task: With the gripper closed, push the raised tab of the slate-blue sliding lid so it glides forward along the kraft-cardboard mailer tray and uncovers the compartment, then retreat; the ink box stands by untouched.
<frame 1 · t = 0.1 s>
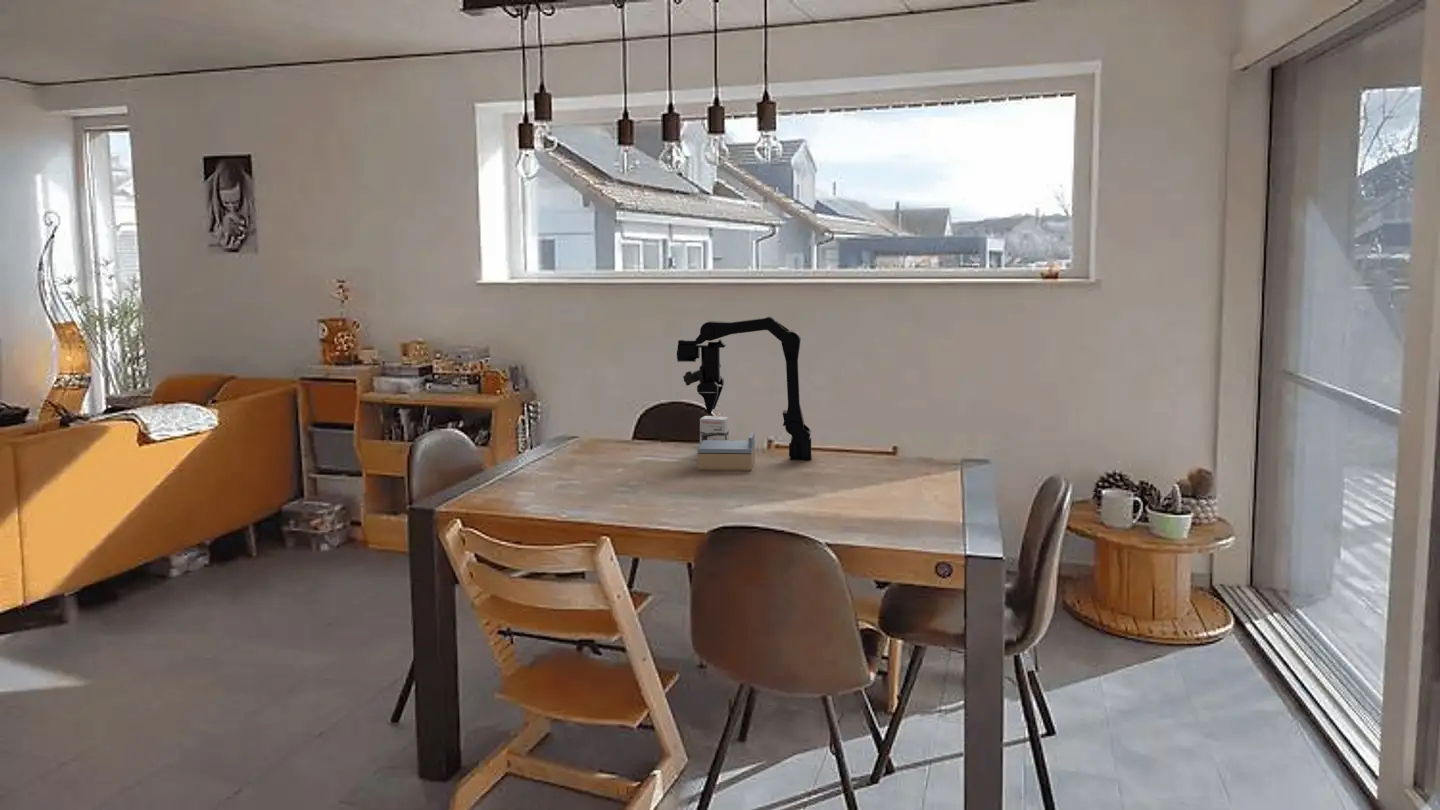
hand: (711, 411, 328), 15 cm above the table, fingers open, 9 cm apart
mailer: (726, 465, 316), on the table
ink box: (714, 454, 336), on the table
lid: (726, 441, 315), point 7 cm above the table, slide at 0.0 cm
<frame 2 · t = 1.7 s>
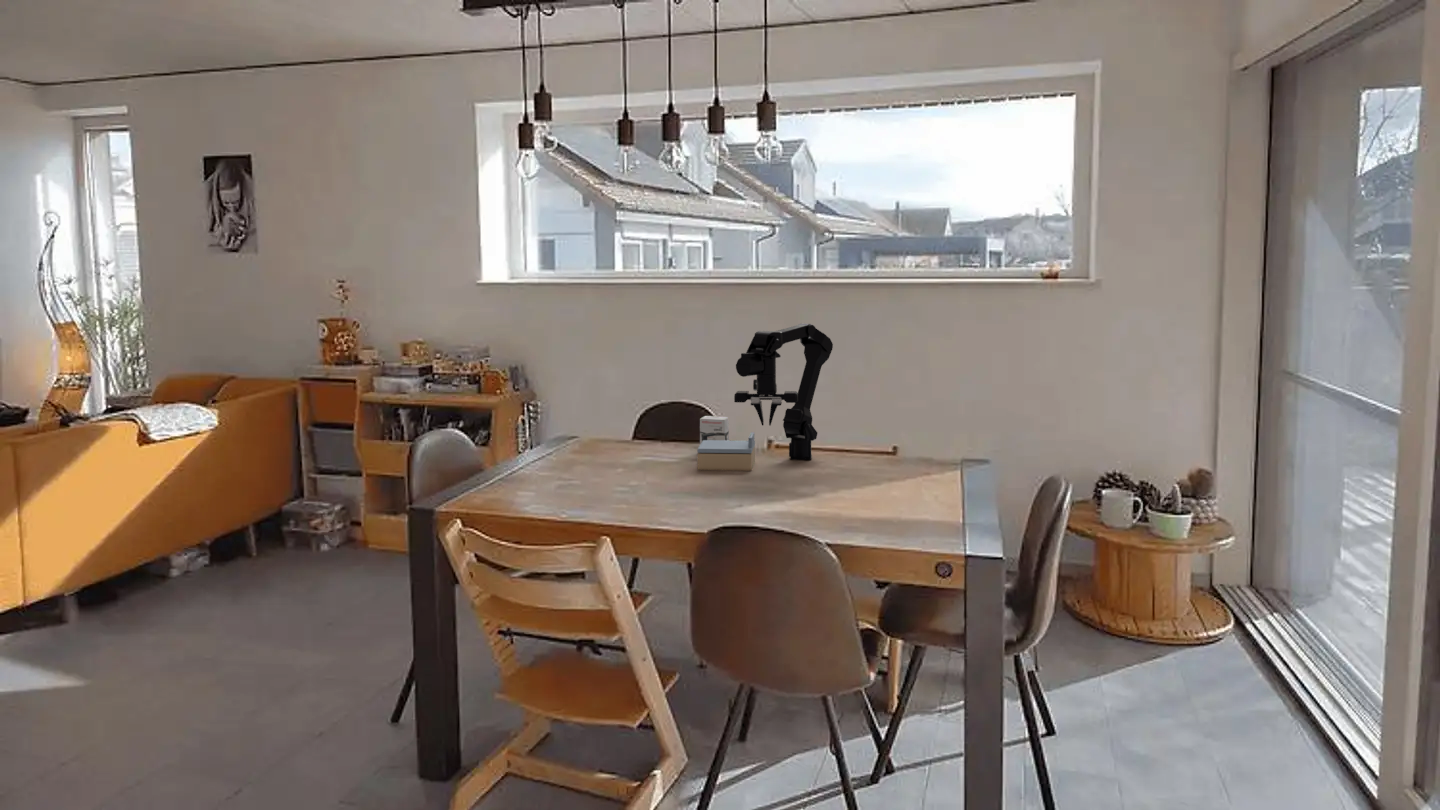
hand: (766, 425, 313), 13 cm above the table, fingers closed
nothing on the table moved.
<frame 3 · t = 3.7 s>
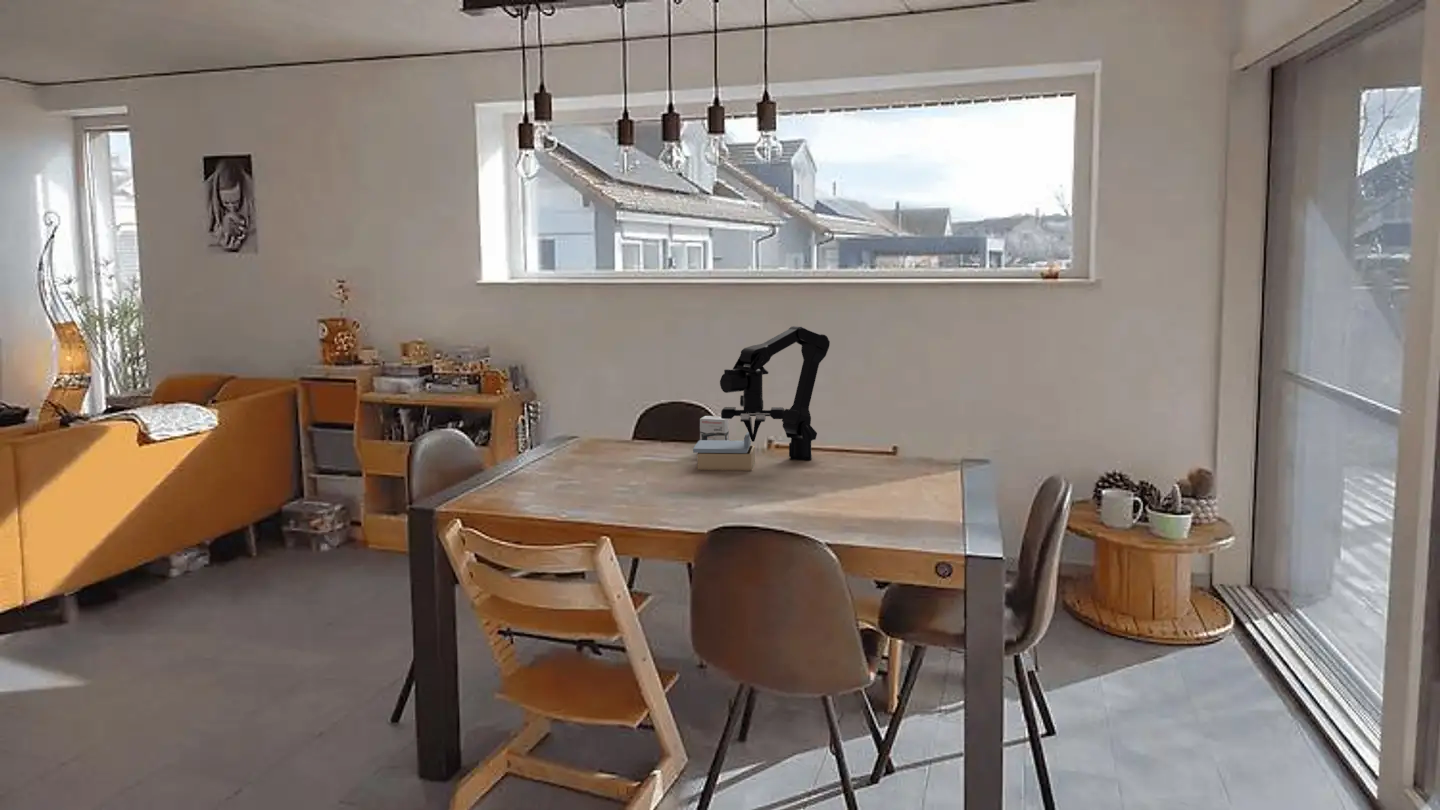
hand: (753, 441, 314), 8 cm above the table, fingers closed
lid: (722, 441, 315), point 7 cm above the table, slide at 1.3 cm, touching gripper
everything else where it was.
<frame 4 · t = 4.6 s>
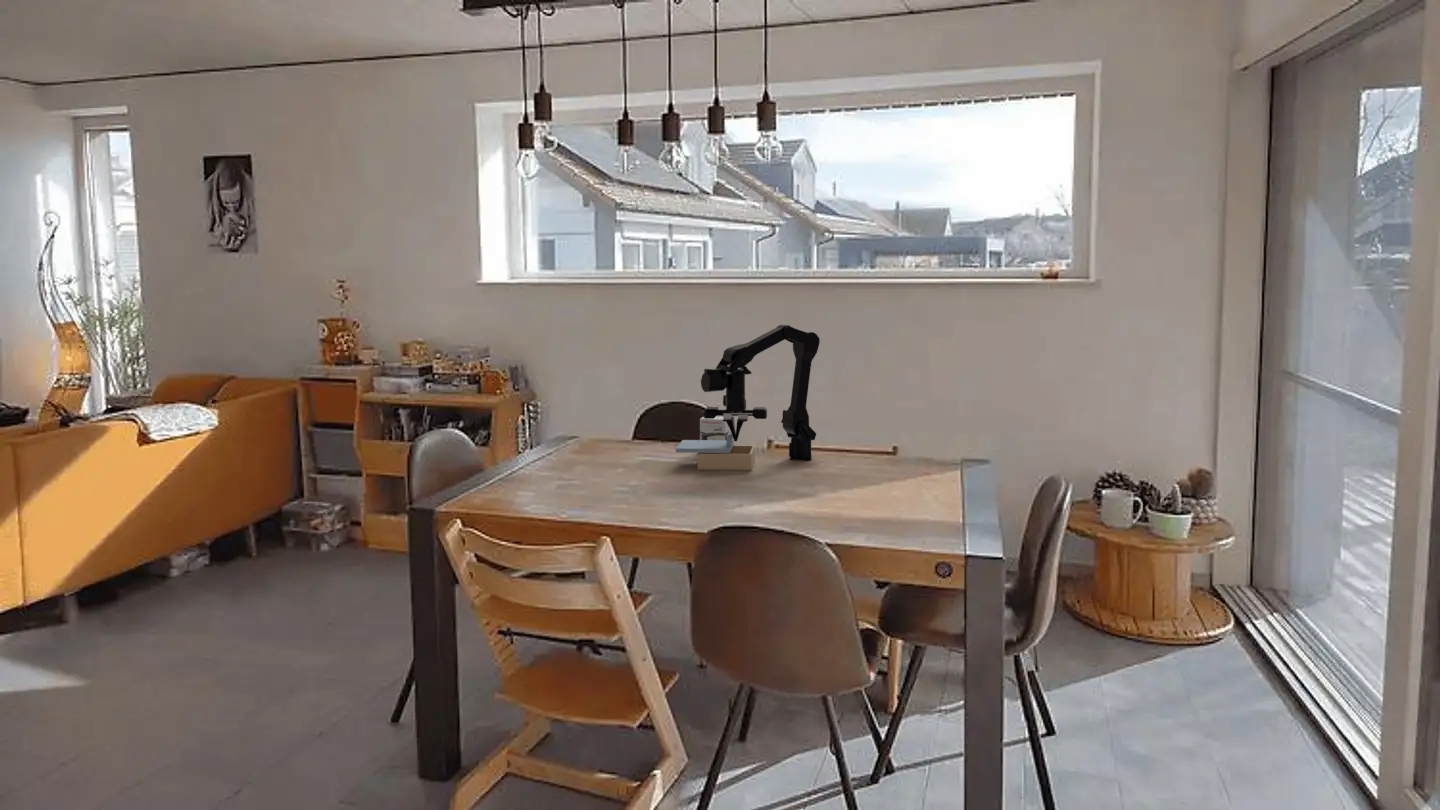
hand: (735, 441, 315), 8 cm above the table, fingers closed
lid: (705, 441, 316), point 7 cm above the table, slide at 6.5 cm, touching gripper
everything else where it was.
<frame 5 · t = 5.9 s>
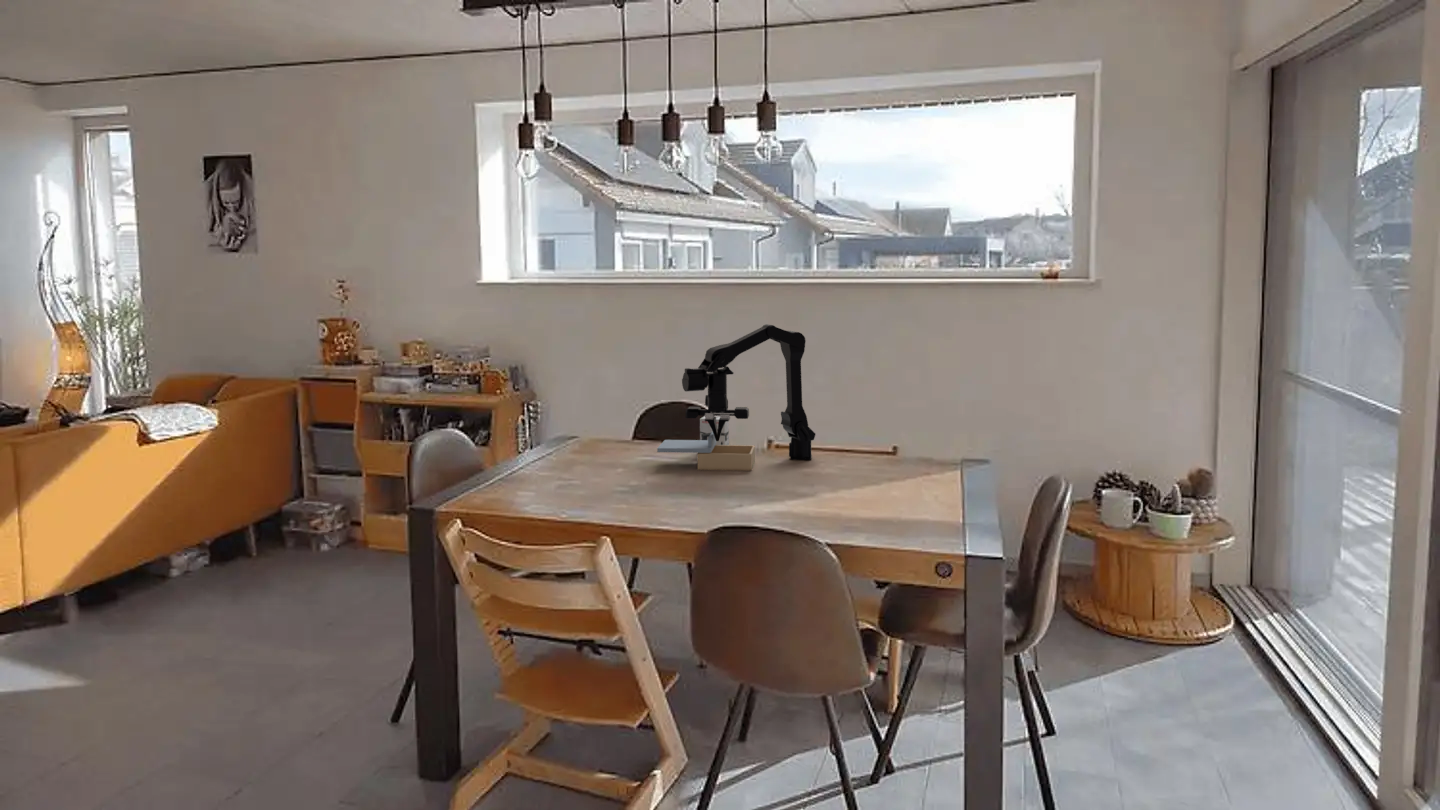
hand: (717, 440, 316), 8 cm above the table, fingers closed
lid: (687, 441, 317), point 7 cm above the table, slide at 12.0 cm, touching gripper
everything else where it was.
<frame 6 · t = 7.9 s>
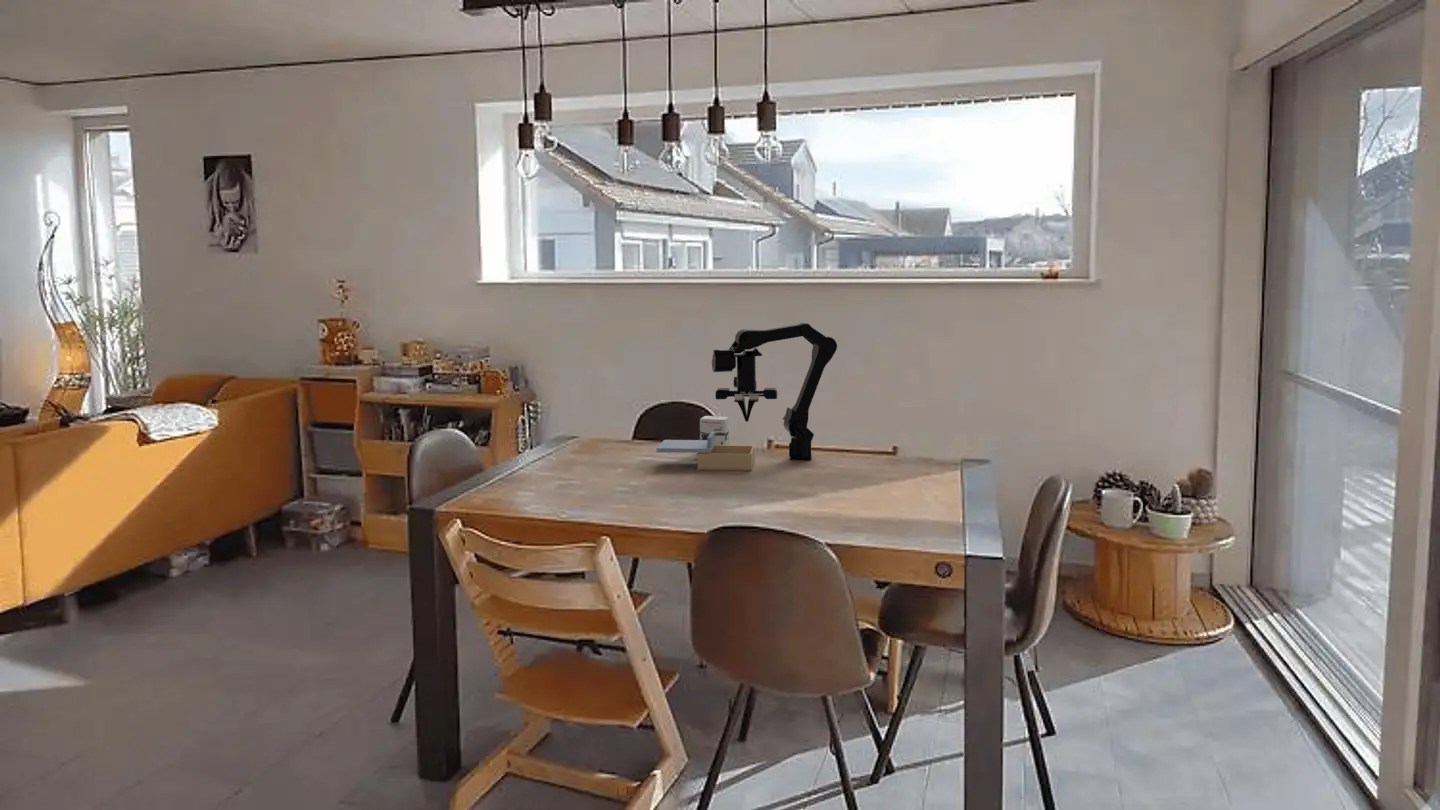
hand: (746, 421, 322), 12 cm above the table, fingers closed
lid: (686, 441, 317), point 7 cm above the table, slide at 12.3 cm
everything else where it was.
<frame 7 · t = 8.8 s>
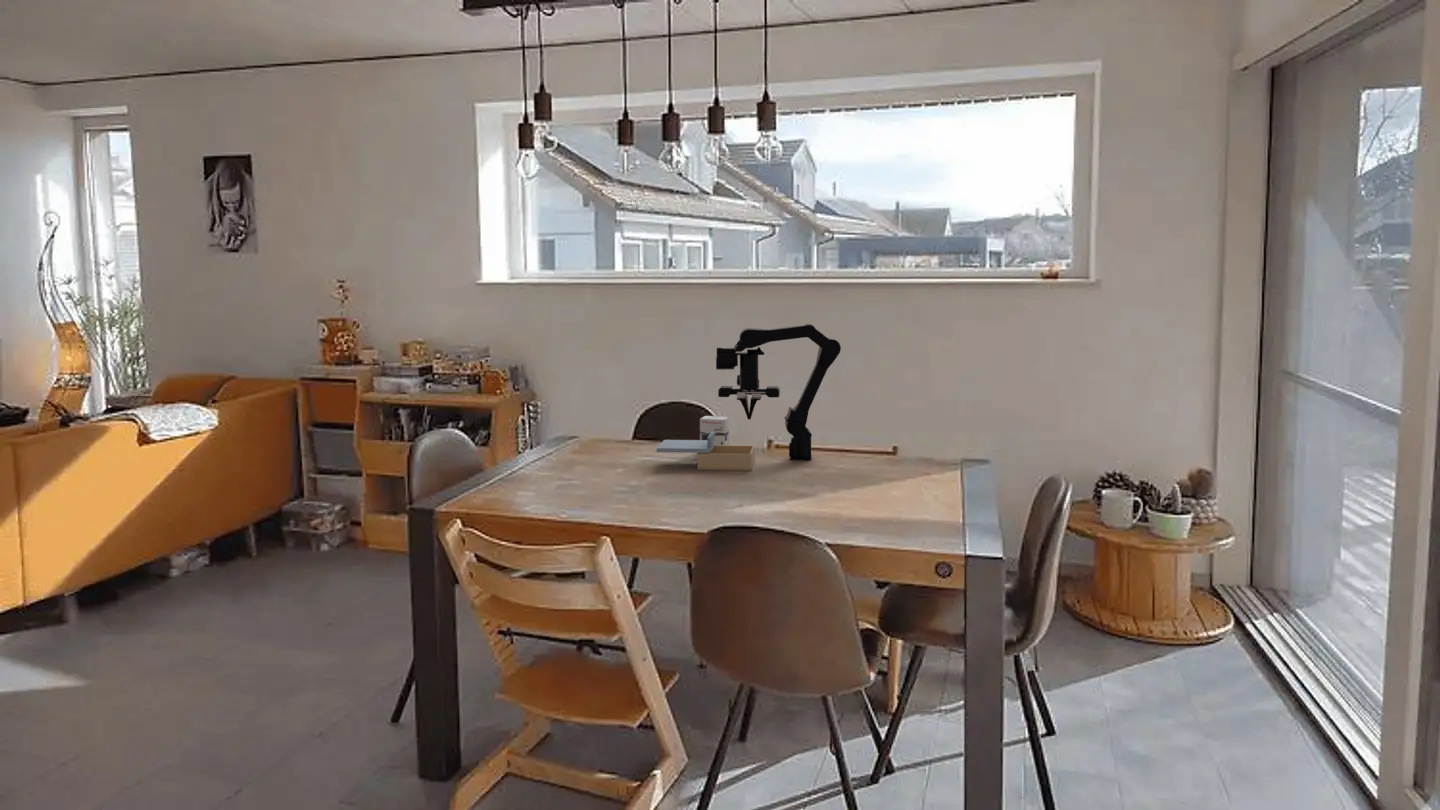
hand: (749, 419, 325), 13 cm above the table, fingers closed
nothing on the table moved.
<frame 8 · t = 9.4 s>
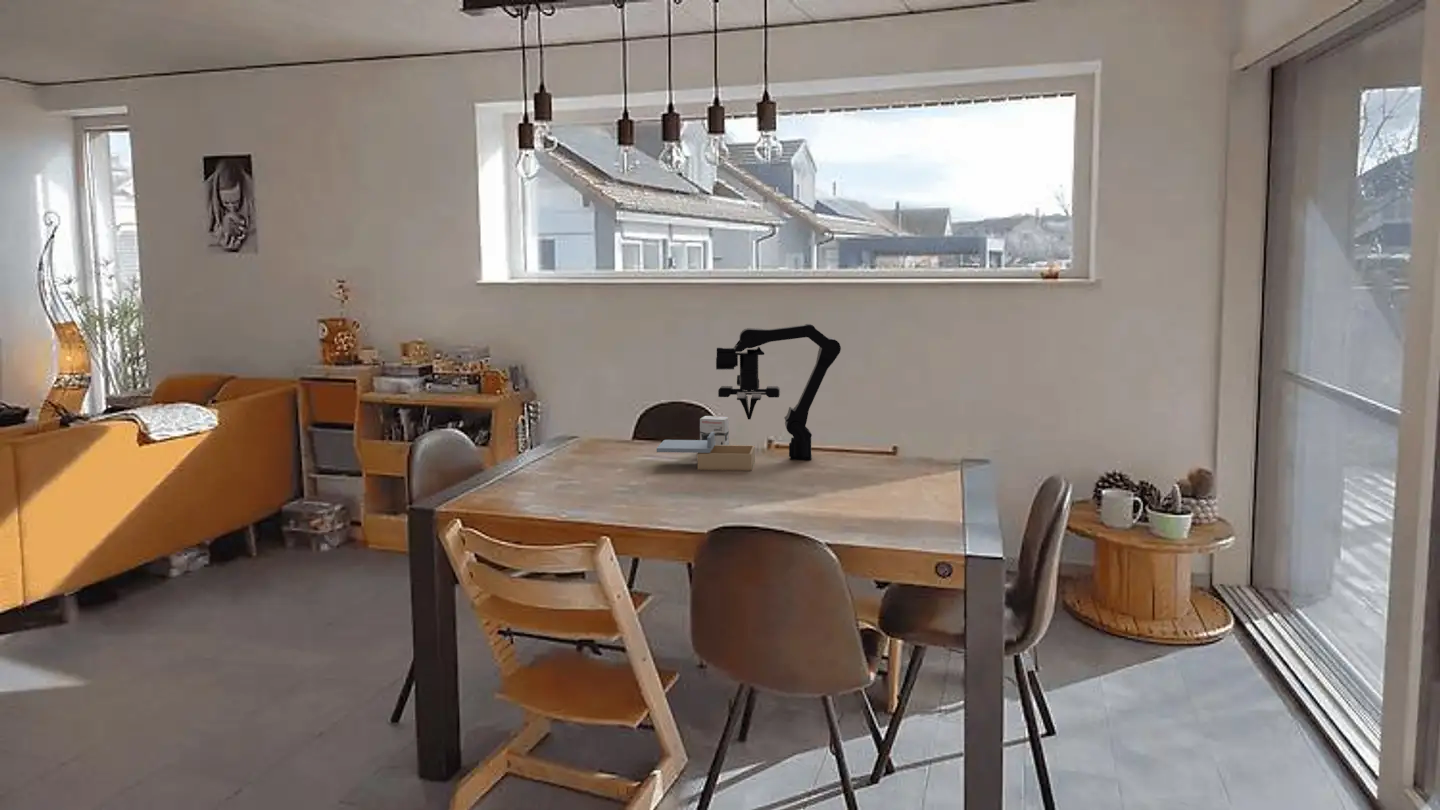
hand: (749, 419, 325), 13 cm above the table, fingers closed
nothing on the table moved.
at the end: lid slide at 12.3 cm; ink box moved 0.3 cm from its start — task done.
